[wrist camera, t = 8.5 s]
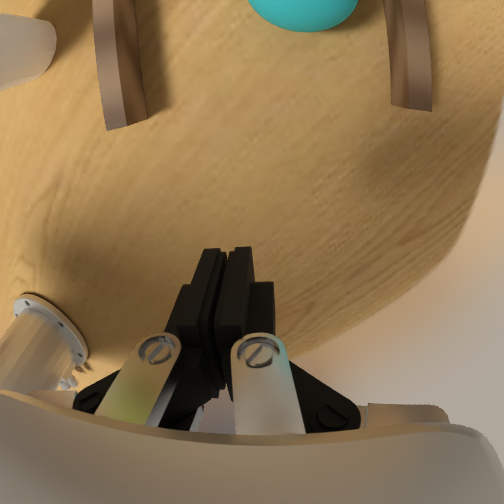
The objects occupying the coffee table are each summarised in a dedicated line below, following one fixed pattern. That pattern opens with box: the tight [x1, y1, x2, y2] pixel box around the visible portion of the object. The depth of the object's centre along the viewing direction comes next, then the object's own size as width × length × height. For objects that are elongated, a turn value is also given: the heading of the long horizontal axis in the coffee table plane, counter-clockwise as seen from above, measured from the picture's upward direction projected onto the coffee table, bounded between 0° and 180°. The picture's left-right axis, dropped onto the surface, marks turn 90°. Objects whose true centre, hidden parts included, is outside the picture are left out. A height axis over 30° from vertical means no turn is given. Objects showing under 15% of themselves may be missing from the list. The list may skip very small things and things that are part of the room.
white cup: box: [0, 13, 57, 91], centre depth 12 cm, size 7×7×7 cm
